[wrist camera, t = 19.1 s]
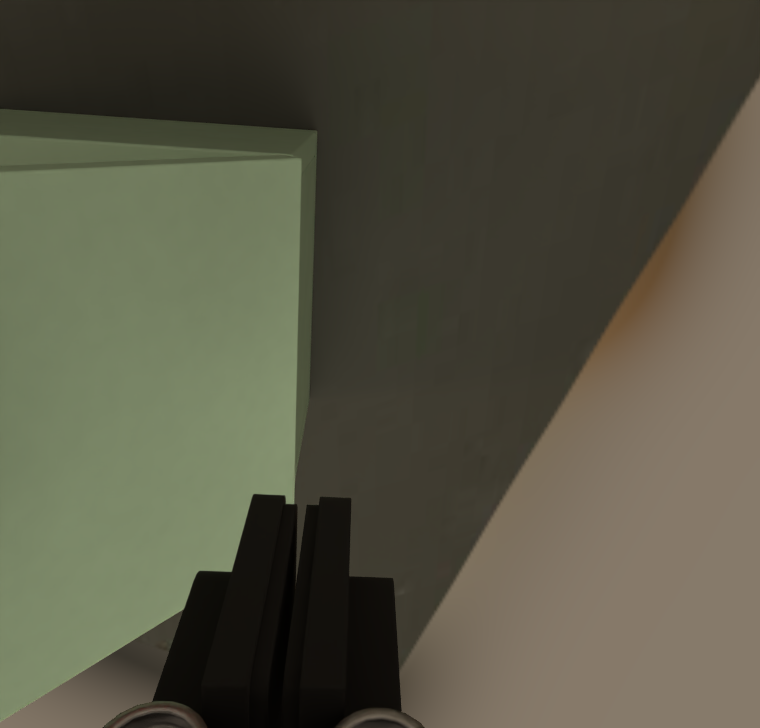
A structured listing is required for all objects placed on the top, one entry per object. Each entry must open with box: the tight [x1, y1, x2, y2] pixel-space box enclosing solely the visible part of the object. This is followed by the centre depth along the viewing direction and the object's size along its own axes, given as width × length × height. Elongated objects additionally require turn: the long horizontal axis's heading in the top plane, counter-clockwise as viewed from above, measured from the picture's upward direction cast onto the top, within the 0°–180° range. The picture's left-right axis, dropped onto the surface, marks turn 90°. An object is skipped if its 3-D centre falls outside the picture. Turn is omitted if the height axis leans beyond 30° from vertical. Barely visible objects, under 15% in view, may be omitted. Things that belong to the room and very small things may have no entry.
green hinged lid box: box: [0, 109, 317, 478], centre depth 24 cm, size 14×12×10 cm
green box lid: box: [0, 155, 302, 722], centre depth 13 cm, size 15×12×4 cm
